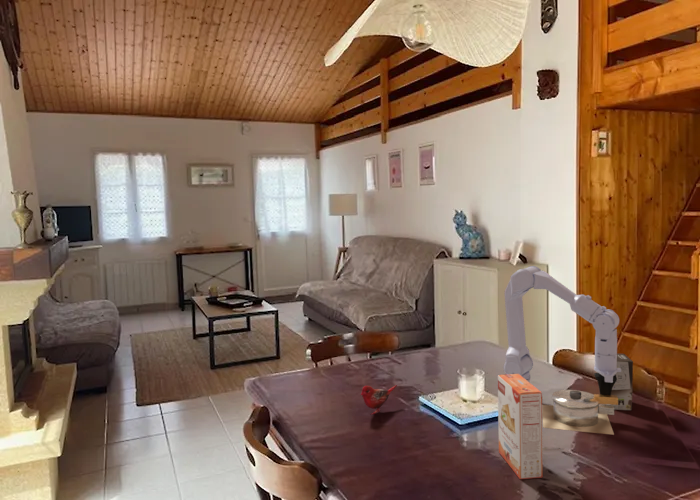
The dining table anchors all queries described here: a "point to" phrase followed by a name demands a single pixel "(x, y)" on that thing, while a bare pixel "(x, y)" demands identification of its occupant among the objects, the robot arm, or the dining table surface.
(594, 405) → the lid with handle
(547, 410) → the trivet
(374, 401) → the decorative bird figurine
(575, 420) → the pot
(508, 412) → the cracker box
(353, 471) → the dining table surface
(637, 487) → the dining table surface
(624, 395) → the coffee box
